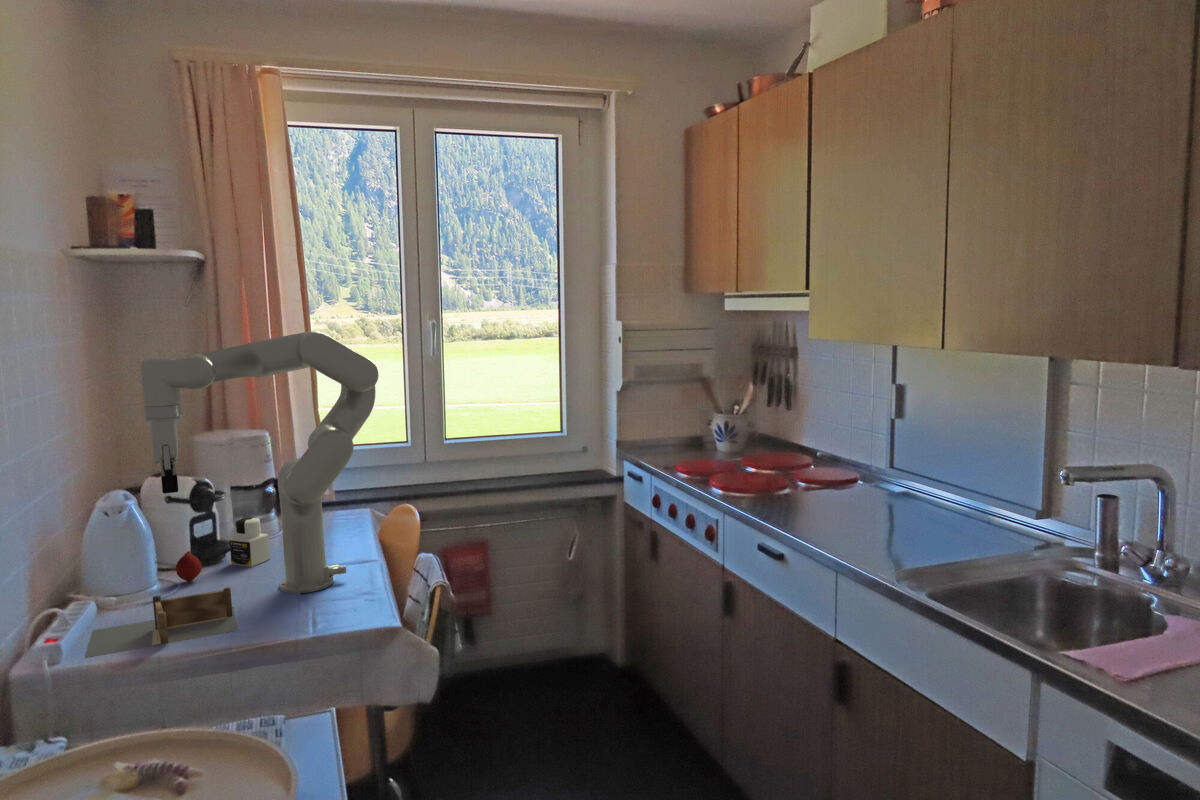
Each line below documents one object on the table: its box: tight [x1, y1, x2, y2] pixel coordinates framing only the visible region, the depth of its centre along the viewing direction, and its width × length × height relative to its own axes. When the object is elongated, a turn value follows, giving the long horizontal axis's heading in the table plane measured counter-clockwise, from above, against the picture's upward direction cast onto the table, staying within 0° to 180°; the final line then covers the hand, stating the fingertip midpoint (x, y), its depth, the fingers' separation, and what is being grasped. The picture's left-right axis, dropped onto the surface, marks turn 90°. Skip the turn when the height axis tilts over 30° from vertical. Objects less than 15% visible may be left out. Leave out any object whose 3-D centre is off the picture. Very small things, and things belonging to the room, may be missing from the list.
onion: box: [175, 550, 203, 583], centre depth 213 cm, size 6×6×8 cm
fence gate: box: [155, 602, 169, 645], centre depth 177 cm, size 11×1×6 cm, turn 32°
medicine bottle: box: [229, 516, 271, 568], centre depth 228 cm, size 7×7×12 cm
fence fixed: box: [152, 586, 233, 629], centre depth 185 cm, size 15×2×7 cm, turn 116°
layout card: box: [84, 606, 238, 659], centre depth 181 cm, size 28×16×1 cm, turn 116°
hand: (170, 492), depth 193 cm, fingers closed
